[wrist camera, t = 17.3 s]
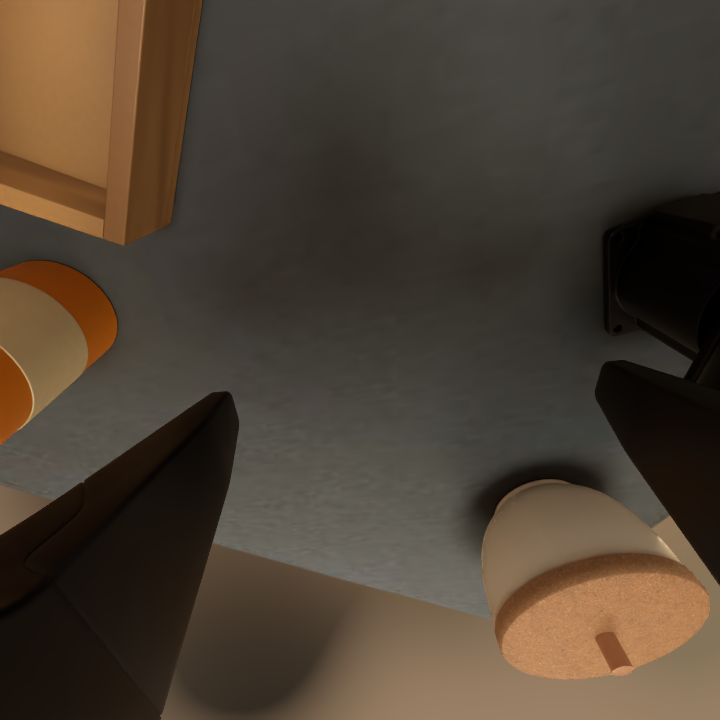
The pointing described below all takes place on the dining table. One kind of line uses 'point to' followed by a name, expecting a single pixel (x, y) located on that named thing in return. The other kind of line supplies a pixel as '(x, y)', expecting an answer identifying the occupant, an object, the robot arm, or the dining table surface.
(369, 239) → the dining table surface
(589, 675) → the lidded bowl
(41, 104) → the tray
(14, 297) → the juice bottle
